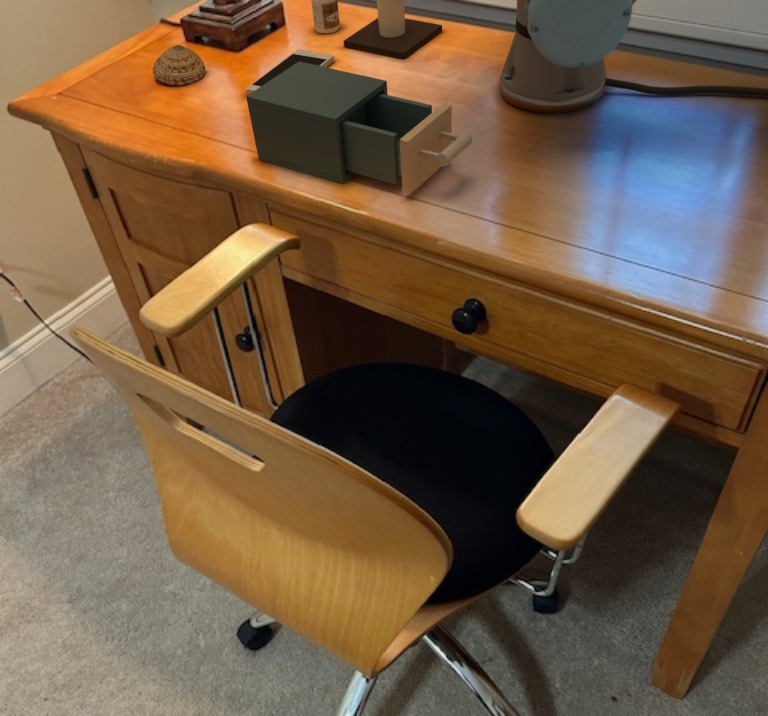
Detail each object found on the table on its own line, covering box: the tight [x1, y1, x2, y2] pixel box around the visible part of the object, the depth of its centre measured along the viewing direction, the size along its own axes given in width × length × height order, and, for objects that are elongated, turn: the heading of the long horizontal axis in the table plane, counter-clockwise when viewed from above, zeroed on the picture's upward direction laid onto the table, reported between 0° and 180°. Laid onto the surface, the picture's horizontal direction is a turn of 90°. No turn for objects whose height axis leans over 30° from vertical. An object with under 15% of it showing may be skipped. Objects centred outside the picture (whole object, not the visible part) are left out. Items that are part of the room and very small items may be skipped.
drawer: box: [340, 93, 473, 195], centre depth 102 cm, size 18×10×7 cm, turn 56°
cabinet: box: [245, 61, 389, 185], centre depth 107 cm, size 15×12×9 cm
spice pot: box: [376, 0, 406, 38], centre depth 128 cm, size 4×4×9 cm
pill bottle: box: [310, 0, 341, 34], centre depth 134 cm, size 4×4×8 cm
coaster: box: [343, 17, 443, 60], centre depth 132 cm, size 12×12×1 cm
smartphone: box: [245, 48, 335, 95], centre depth 126 cm, size 7×16×1 cm, turn 151°
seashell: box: [152, 44, 206, 86], centre depth 129 cm, size 8×6×8 cm
